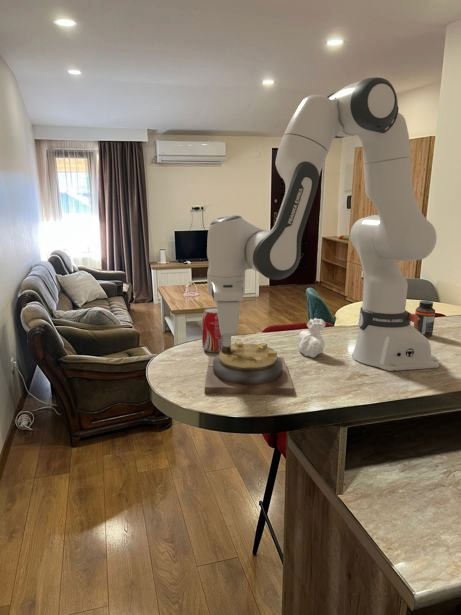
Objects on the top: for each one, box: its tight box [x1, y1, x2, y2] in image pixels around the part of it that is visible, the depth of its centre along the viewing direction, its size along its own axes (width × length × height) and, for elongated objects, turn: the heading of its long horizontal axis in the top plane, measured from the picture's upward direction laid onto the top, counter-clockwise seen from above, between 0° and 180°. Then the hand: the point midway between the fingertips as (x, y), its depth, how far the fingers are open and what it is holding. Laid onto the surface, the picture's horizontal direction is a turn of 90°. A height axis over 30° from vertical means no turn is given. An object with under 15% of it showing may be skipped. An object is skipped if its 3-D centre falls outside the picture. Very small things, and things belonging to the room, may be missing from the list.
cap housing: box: [204, 354, 295, 395], centre depth 108 cm, size 20×20×4 cm
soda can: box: [201, 307, 221, 353], centre depth 126 cm, size 7×7×12 cm
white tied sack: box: [296, 317, 326, 359], centre depth 125 cm, size 12×8×11 cm
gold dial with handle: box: [218, 335, 278, 371], centre depth 106 cm, size 14×14×9 cm
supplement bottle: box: [413, 300, 436, 338], centre depth 143 cm, size 6×6×11 cm
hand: (226, 342), depth 106 cm, fingers open, 4 cm apart
